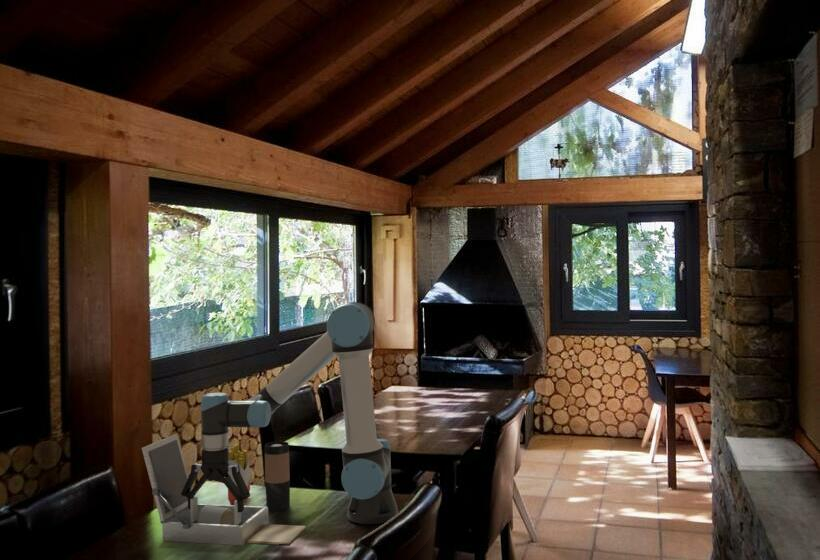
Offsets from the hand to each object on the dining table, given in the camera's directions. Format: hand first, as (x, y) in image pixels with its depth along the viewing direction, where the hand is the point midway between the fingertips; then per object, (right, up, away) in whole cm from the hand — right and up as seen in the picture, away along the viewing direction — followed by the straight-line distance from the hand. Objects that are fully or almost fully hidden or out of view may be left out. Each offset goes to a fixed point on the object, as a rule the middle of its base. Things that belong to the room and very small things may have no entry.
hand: (215, 521), depth 198 cm
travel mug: (+14, -3, +21) cm, 25 cm away
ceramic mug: (+1, -3, +1) cm, 3 cm away
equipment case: (-3, -3, 0) cm, 4 cm away
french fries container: (0, -3, +28) cm, 28 cm away
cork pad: (+18, -2, -4) cm, 19 cm away
